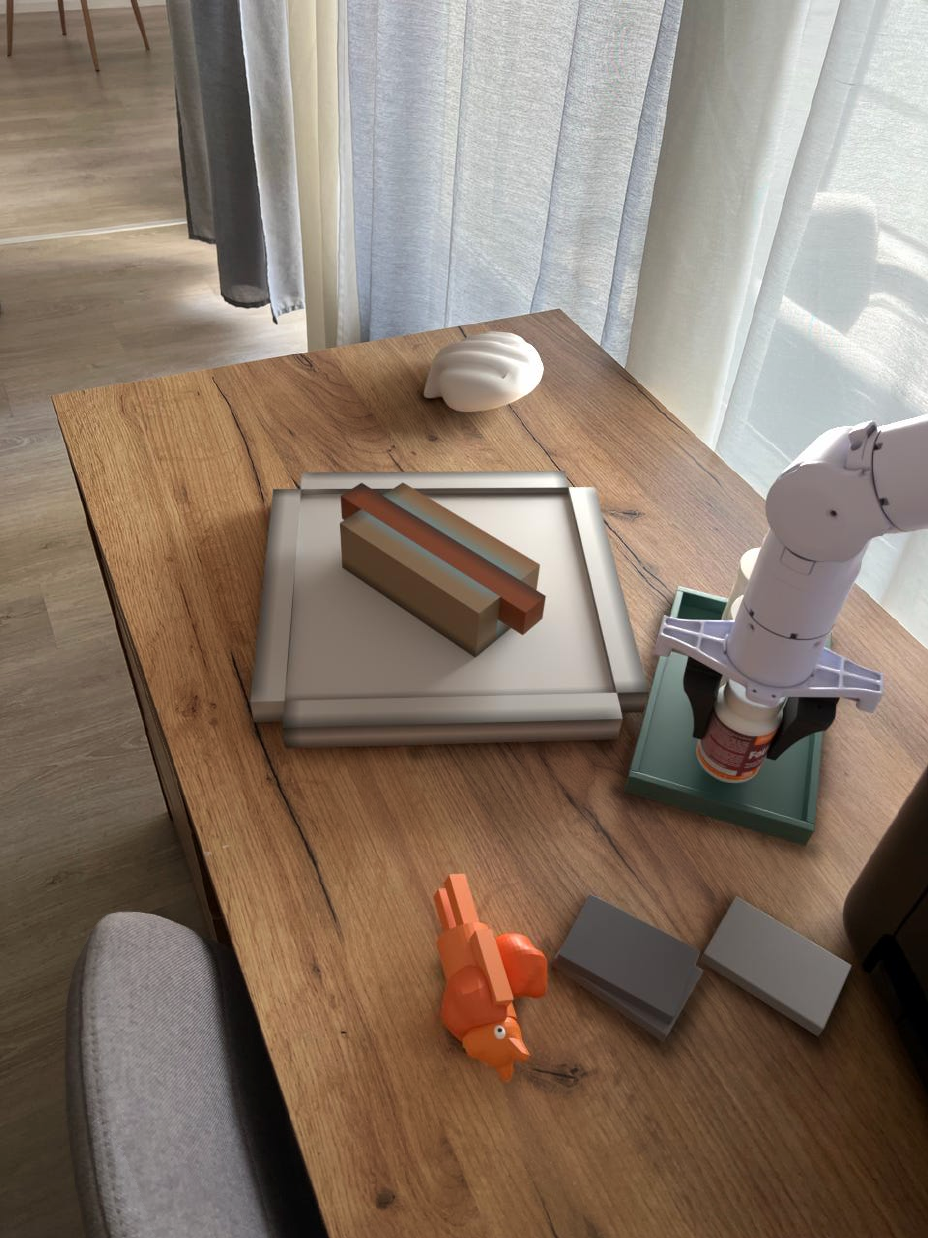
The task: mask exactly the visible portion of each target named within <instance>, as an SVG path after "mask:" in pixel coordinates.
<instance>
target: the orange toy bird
mask: <svg viewBox="0 0 928 1238" xmlns="http://www.w3.org/2000/svg"><path fill="white" fill-rule="evenodd" d="M443 884H444V887H441V888H437V890H436V892H435V893H434V895H433V896H432V897H433V902H434V903H435V904H434V905H435V908H436V912H437V915H438V919H439V922H440V926H441V930H442V934H441V935H439V937H437V940H436V943H435V944H436V948H437V953H438V955H439V958H440V963H441V967H442V970H443V974H444V977H445V981H446V986H445V989H444V993H443V997H442V1003H441V1004H442V1005H441V1013H440V1018H441V1020H442V1022H443V1024H444V1026H445V1028H446V1029H447V1030H448V1032H450V1033H451V1034H452V1035H453V1036H454V1037H455V1038H456V1039H457V1040H458V1041H460V1042H461V1043H462V1052H463V1053H464V1054H465V1055H466V1056H468V1057H469V1058H472V1059H476V1060H478V1061H480V1062H482V1063H484V1064H486V1065H488V1066H492V1067H493V1068H494V1069H495V1070H496V1073H497V1074H498V1076H499V1077H500V1079H501V1081H502V1082H509V1081H510V1080H511V1079H512V1078H513V1076H514V1063H515V1061H518V1062H521V1063H522V1062H523V1063H524V1062H526V1061H529V1060H530V1057H531V1054H530V1052H529V1050H528V1048H527V1047H526V1045H525V1043H524V1041H523V1037H522V1031H521V1028H520V1025H519V1024H518V1022H519V1019H518V1017H517V1013H516V1010H515V1007H514V1003H513V1001H515V999H518V998H522V997H526V998H529V999H534V1000H535V999H536V1000H537V999H540V998H543V997H545V996H546V994H547V988H548V959H547V958H546V956H545V954H544V953H543V952H542V951H541V950H539V949H537V948H536V947H535V946H534V945H533V944H532V942H531V940H530V939H529V938H528V937H527V936H526V935H523V934H521V933H516V932H512V933H511V932H509V933H504V934H501V935H498V936H496V937H495V935H494V932H493V929H492V928H490V927H489V925H488V924H486V923H483V922H480V919H479V916H478V913H477V908H476V905H475V902H474V899H473V896H472V893H471V889H470V886H469V883H468V879H467V877H466V874H465V873H451V874H449V873H448V876H447V878H446V879H445V881H444V882H443Z"/></svg>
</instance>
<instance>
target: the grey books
mask: <svg viewBox="0 0 928 1238" xmlns="http://www.w3.org/2000/svg"><path fill="white" fill-rule="evenodd" d="M700 954H701V950H700V949H698V948H696V947H694V946H692V945H690V944H688V943H686V942H685V941H683V940H681V939H680V938H677V937H675V936H673V935H671V934H670V933H667V932H666V931H664V930H662V929H659V928H658V927H656V926H654V925H651V924H650V923H648V922H646V921H645V920H643V919H640V918H638V917H636V915H633V914H631V913H629V912H628V911H625V910H623V909H621V908H619V907H617V906H616V905H614V904H612V903H610V902H608V901H606V900H604V899H602V898H600V897H599V896H596V895H594V894H592V893H589V894H588V896H587V898H586V900H585V901H584V903H583V906H582V908H581V909H580V911H579V913H578V915H577V916H576V919H575V920H574V923H573V925H572V927H571V929H570V931H569V933H568V935H567V937H566V939H565V940H564V942H563V944H562V945H561V946H560V948H559V949H558V951H557V953H556V954H555V956H554V957H553V959H552V960H553V961H552V964H551V966H552V968H554V969H556V970H557V971H559V972H560V973H561V974H563V975H564V976H566V977H568V978H569V979H570V980H572V981H573V982H574V983H576V984H578V985H579V986H580V987H581V988H583V989H585V990H586V991H588V992H589V993H590V994H592V995H593V996H594V997H597V998H598V999H599V1000H601V1001H602V1002H604V1003H605V1004H607V1005H608V1006H610V1007H611V1008H612V1009H614V1010H616V1011H617V1012H618V1013H619V1014H621V1015H623V1017H626V1018H627V1019H629V1020H630V1021H631V1022H633V1023H634V1024H635V1025H637V1026H639V1027H640V1028H641V1029H643V1030H645V1031H646V1032H648V1033H649V1034H650V1035H652V1036H653V1037H655V1039H658V1040H659V1041H661V1042H662V1043H665V1042H666V1039H667V1037H668V1036H669V1034H670V1032H671V1031H672V1029H673V1027H674V1025H675V1023H676V1022H677V1020H678V1018H679V1015H680V1014H681V1012H682V1011H683V1009H684V1007H685V1006H686V1003H687V1002H688V1000H689V998H690V997H691V995H692V993H693V991H694V989H695V987H696V986H697V984H698V982H699V980H700V978H701V977H702V974H703V973H704V969H702V968H701V967H699V966H697V962H698V960H699V961H700V963H702V964H704V965H705V966H707V968H710V969H711V970H713V971H714V972H716V973H718V974H719V975H721V976H722V977H724V978H726V979H727V980H729V981H730V982H731V983H733V984H735V986H736V985H737V986H738V987H740V988H741V989H743V990H744V991H745V992H747V993H748V994H750V995H752V996H754V997H755V998H756V999H758V1000H760V1001H761V1002H763V1003H764V1004H766V1005H768V1006H769V1007H771V1008H773V1009H774V1010H775V1011H777V1012H778V1013H780V1014H782V1015H783V1016H784V1017H786V1018H787V1019H789V1020H791V1021H793V1022H794V1023H796V1024H797V1025H799V1026H800V1027H802V1028H803V1029H805V1030H807V1031H808V1032H810V1033H811V1034H813V1035H815V1036H816V1037H818V1036H820V1035H821V1034H822V1032H823V1031H824V1030H825V1028H826V1025H827V1023H828V1021H829V1018H830V1016H831V1014H832V1012H833V1010H834V1007H835V1005H836V1003H837V1001H838V998H839V996H840V994H841V991H842V989H843V987H844V986H845V985H844V984H845V983H846V980H847V978H848V975H849V973H850V971H851V969H852V964H850V963H848V962H846V961H845V960H843V959H842V958H840V957H838V956H836V955H835V954H833V953H831V952H830V951H829V950H827V949H825V948H823V947H822V946H820V945H818V944H816V943H815V942H813V941H812V940H810V939H808V938H807V937H805V936H804V935H802V934H800V933H798V932H797V931H795V930H793V928H790V927H789V926H787V925H785V924H784V923H782V922H780V921H779V920H777V919H775V918H773V917H772V916H770V915H769V914H767V913H765V912H763V911H762V910H760V909H759V908H757V907H755V906H754V905H752V904H751V903H749V902H747V901H746V900H744V899H742V898H740V897H739V896H737V895H736V896H735V897H734V899H733V900H732V902H731V904H730V906H729V907H728V909H727V911H726V913H725V915H724V916H723V918H722V919H721V921H720V922H719V924H718V926H717V928H716V930H715V932H714V934H713V936H712V937H711V939H710V940H709V943H708V945H707V946H706V948H705V950H704V952H703V954H702V955H701V957H700ZM699 957H700V959H699Z"/></svg>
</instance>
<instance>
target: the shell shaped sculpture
mask: <svg viewBox="0 0 928 1238" xmlns="http://www.w3.org/2000/svg"><path fill="white" fill-rule="evenodd" d="M543 373H544V365H543V362H542V360H541V357H540V355H539V353H538V351H537V350H536V349H535V347H533V345H531V344H530V343H527V342H526V341H525V340H524V339H523V338H522V337H521V336H519V335H516V334H514V333H512V332H506V331H496V330H488V331H486V332H484V333H475V334H472V335H468V336H467V337H464V338H462V339H461V340H459V341H456V342H452V343H450V344H448V345H445V346H444V347H442V348H441V349H440V350H439V351H438V352H437V353H436V354H435V356H434V358H433V360H432V363H431V366H430V369H429V372H428V376H427V379H426V382H425V386H424V390H423V396H424V398H426V399H435V398H436V399H437V398H442V399H443V401H444V402H445V404H446V405H447V407H449V408H450V409H452V410H454V411H456V412H461V413H473V412H484V411H490V410H496V409H499V408H501V407H505V406H507V405H510V404H512V403H514V402H516V401H518V400H519V399H521V398H524V397H526V395H528V394H529V393H530V392H532V391H534V389H535V388H536V387H537V385H539V384H540V382H541V379H542V377H543Z"/></svg>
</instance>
